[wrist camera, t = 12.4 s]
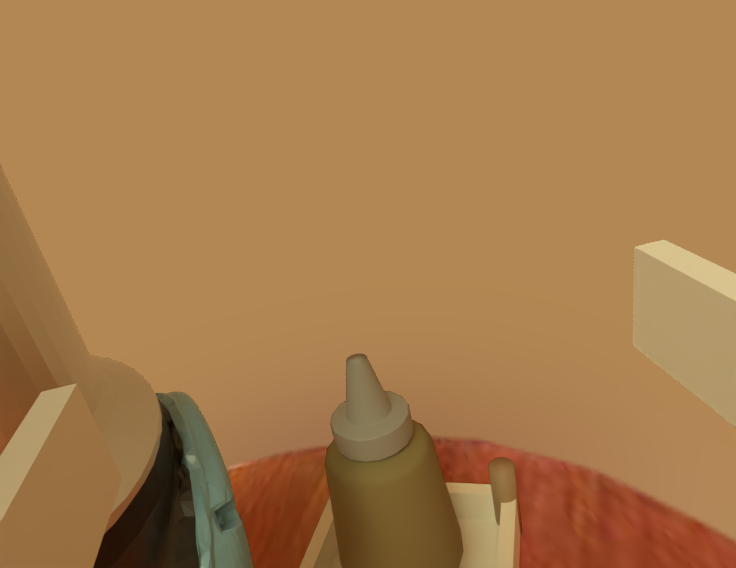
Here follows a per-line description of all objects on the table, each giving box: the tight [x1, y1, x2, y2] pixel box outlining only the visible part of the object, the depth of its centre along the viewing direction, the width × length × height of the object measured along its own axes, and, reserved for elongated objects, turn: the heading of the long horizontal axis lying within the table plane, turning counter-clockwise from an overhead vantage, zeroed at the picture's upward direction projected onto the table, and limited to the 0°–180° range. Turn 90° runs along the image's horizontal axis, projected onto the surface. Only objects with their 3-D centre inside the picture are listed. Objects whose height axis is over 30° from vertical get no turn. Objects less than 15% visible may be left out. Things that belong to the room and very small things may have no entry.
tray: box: [299, 457, 522, 568], centre depth 37 cm, size 14×14×6 cm
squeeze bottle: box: [325, 354, 464, 568], centre depth 34 cm, size 8×8×18 cm
